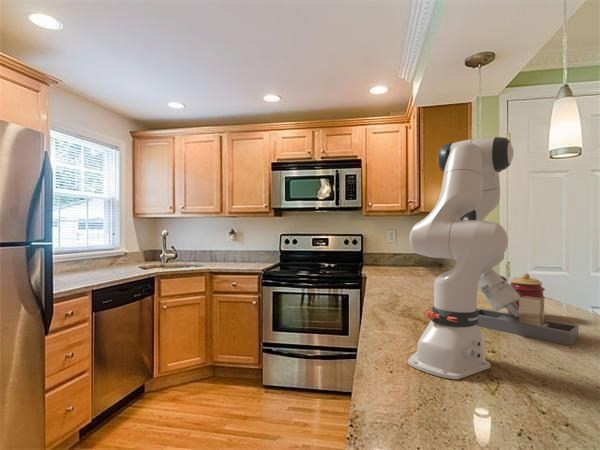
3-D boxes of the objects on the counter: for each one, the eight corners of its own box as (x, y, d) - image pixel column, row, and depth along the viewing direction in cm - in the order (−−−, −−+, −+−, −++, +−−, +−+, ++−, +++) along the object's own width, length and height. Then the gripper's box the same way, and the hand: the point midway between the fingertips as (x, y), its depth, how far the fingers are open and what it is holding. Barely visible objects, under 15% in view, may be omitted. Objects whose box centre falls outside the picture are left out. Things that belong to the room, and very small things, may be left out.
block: (539, 327, 118) (539, 301, 118) (518, 323, 123) (519, 298, 123) (543, 324, 122) (544, 298, 122) (524, 320, 127) (524, 295, 127)
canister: (533, 312, 151) (533, 271, 151) (552, 320, 138) (552, 275, 138) (501, 311, 152) (502, 270, 152) (517, 319, 139) (517, 275, 139)
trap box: (570, 345, 110) (570, 332, 110) (467, 323, 133) (467, 313, 133) (578, 337, 118) (578, 325, 118) (479, 318, 141) (480, 308, 141)
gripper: (486, 282, 124) (517, 315, 117) (506, 276, 138) (535, 305, 130) (473, 292, 127) (502, 325, 120) (493, 286, 141) (521, 315, 134)
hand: (519, 315), depth 125 cm, fingers closed, pressing on block
